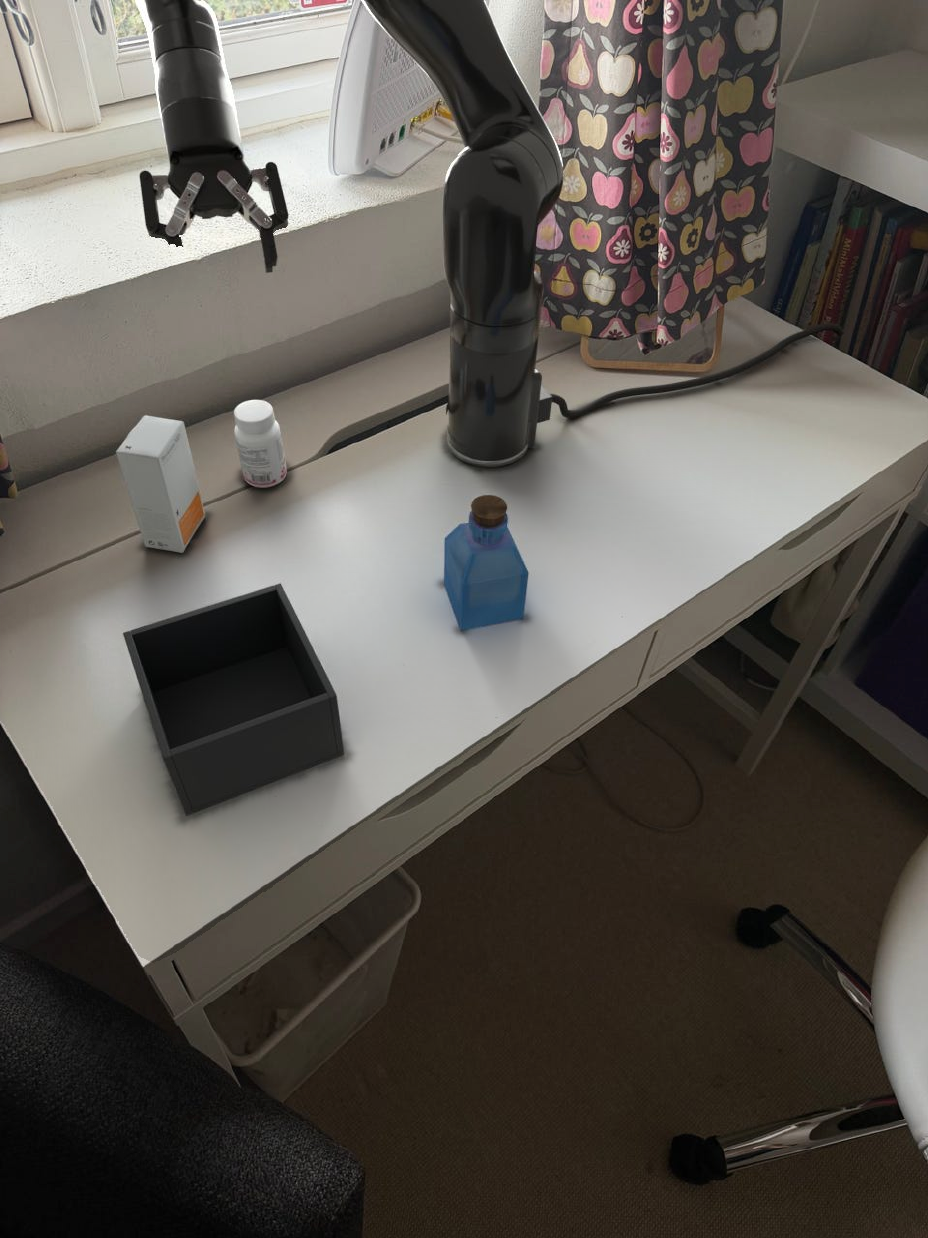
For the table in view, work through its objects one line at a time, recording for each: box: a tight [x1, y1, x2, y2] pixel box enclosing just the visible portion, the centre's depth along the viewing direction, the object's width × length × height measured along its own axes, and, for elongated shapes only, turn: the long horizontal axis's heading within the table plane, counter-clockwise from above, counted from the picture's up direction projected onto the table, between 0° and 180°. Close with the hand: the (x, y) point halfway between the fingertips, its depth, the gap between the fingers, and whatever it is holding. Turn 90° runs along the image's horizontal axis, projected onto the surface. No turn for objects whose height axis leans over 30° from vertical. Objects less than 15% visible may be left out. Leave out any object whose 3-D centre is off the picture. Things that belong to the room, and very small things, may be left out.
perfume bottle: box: [443, 494, 530, 631], centre depth 81 cm, size 6×6×12 cm
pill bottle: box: [233, 399, 288, 489], centre depth 94 cm, size 5×5×8 cm
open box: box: [122, 583, 345, 816], centre depth 72 cm, size 13×13×8 cm
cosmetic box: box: [115, 414, 206, 554], centre depth 86 cm, size 6×4×12 cm
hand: (228, 273), depth 91 cm, fingers open, 8 cm apart
